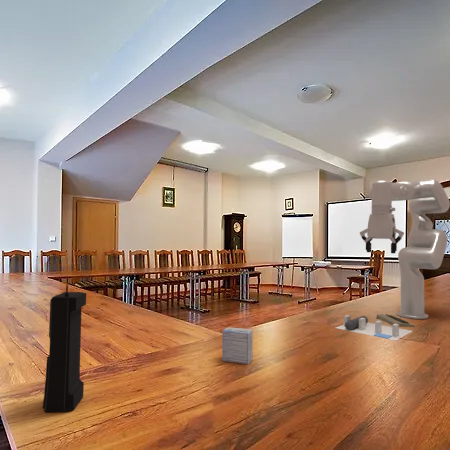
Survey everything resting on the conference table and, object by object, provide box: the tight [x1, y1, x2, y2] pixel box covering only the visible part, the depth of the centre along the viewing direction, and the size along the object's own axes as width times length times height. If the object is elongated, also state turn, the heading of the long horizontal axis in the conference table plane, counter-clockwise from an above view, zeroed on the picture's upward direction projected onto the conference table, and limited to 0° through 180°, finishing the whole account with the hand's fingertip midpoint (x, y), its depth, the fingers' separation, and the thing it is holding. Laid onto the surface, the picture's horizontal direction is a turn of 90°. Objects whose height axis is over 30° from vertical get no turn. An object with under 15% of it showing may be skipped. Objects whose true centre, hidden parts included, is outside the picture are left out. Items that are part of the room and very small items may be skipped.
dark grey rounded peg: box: [345, 315, 369, 330], centre depth 134 cm, size 14×3×3 cm, turn 135°
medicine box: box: [221, 326, 254, 365], centre depth 99 cm, size 8×4×9 cm, turn 71°
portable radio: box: [42, 283, 87, 413], centre depth 72 cm, size 8×6×25 cm
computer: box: [376, 313, 416, 328], centre depth 143 cm, size 16×8×3 cm, turn 2°
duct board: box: [335, 314, 413, 341], centre depth 131 cm, size 18×22×5 cm
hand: (380, 252), depth 141 cm, fingers open, 9 cm apart
